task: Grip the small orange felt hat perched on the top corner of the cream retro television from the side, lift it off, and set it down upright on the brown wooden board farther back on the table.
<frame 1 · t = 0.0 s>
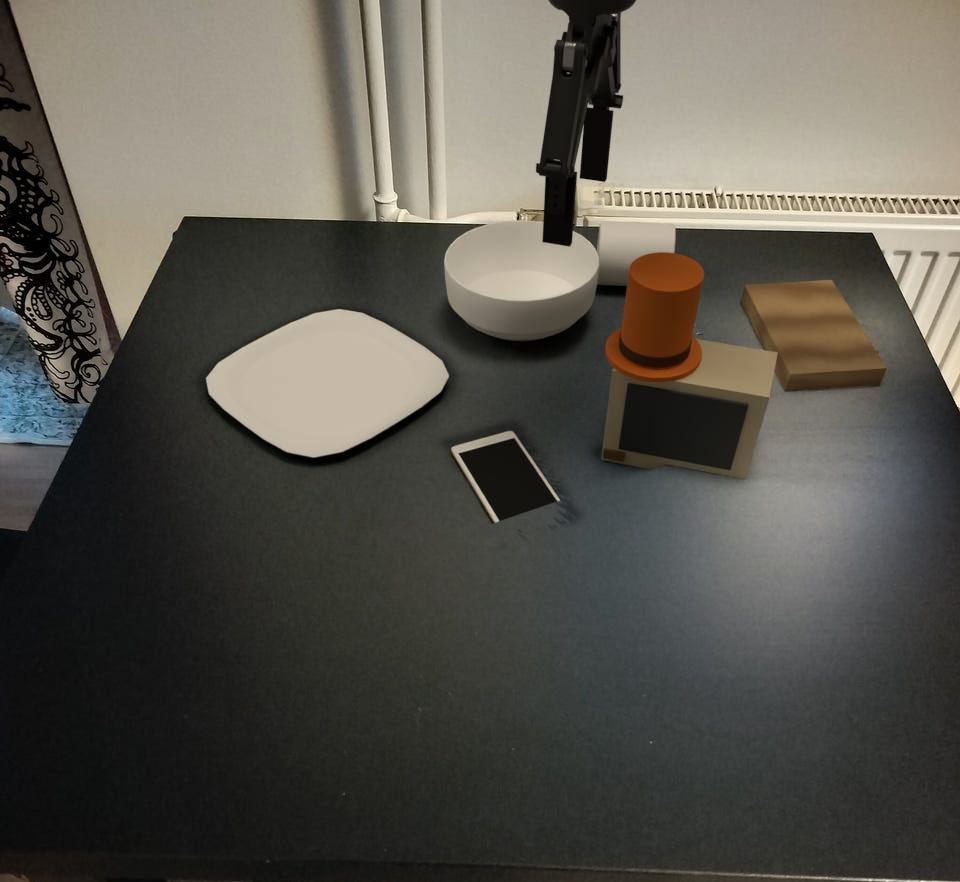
hand: (575, 209, 88), 24 cm above the table, tool pointing down, fingers open, 13 cm apart
brown wooden board: (806, 341, 115), on the table
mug: (630, 275, 125), on the table
plate: (329, 388, 110), on the table
television: (676, 451, 102), on the table
cell phone: (509, 487, 98), on the table
hat: (653, 353, 93), point 12 cm above the table, touching television
bowl: (519, 319, 119), on the table
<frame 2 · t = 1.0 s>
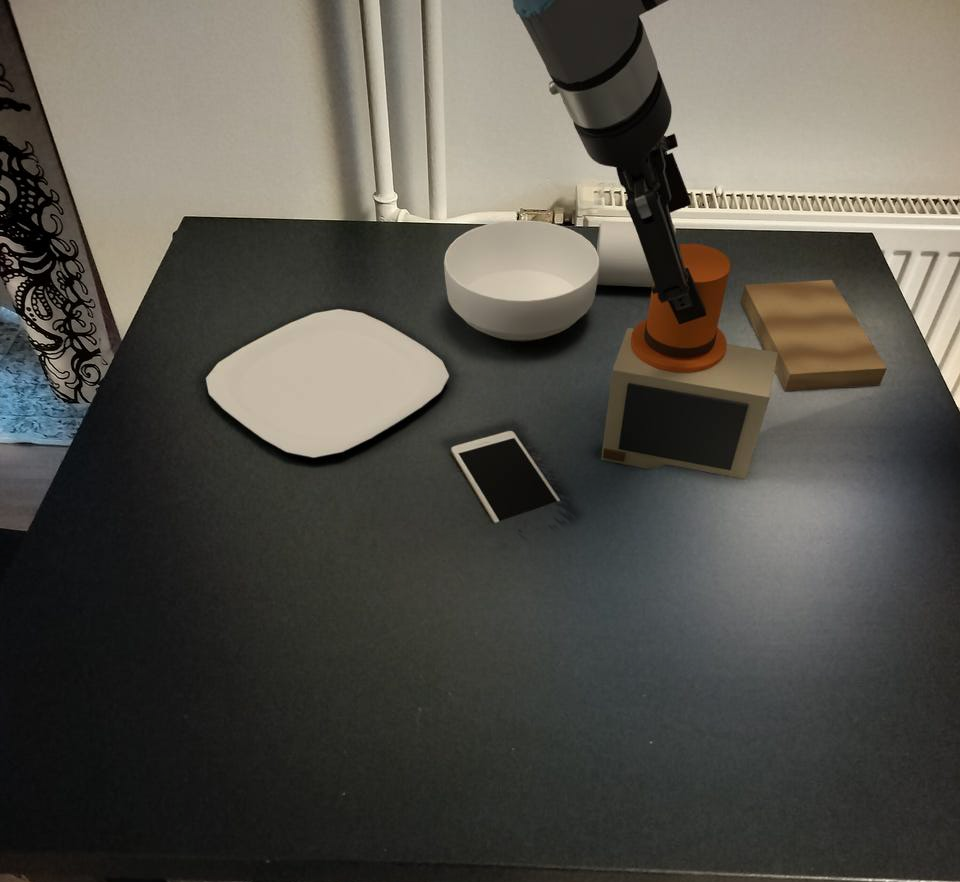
hand: (685, 260, 89), 20 cm above the table, tool tilted 35°, fingers open, 13 cm apart
hat: (678, 344, 94), point 12 cm above the table, touching television
everything else where it was.
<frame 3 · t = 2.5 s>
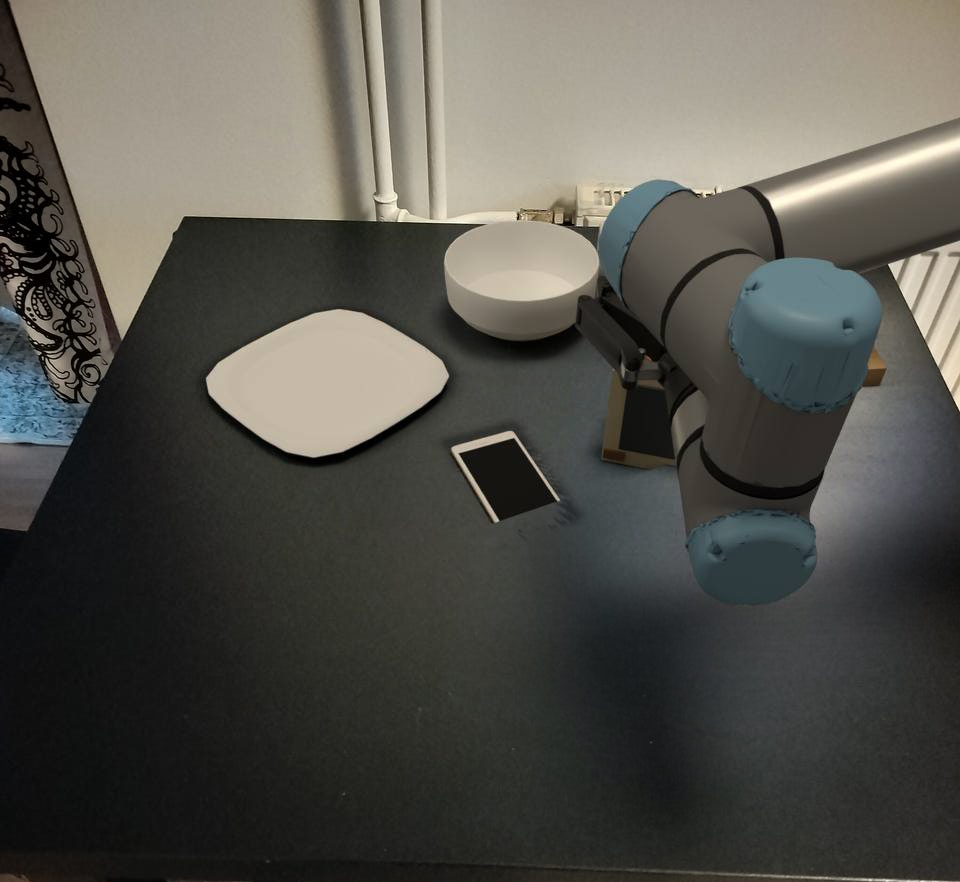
hand: (690, 265, 77), 26 cm above the table, tool horizontal, fingers open, 13 cm apart
nothing on the table moved.
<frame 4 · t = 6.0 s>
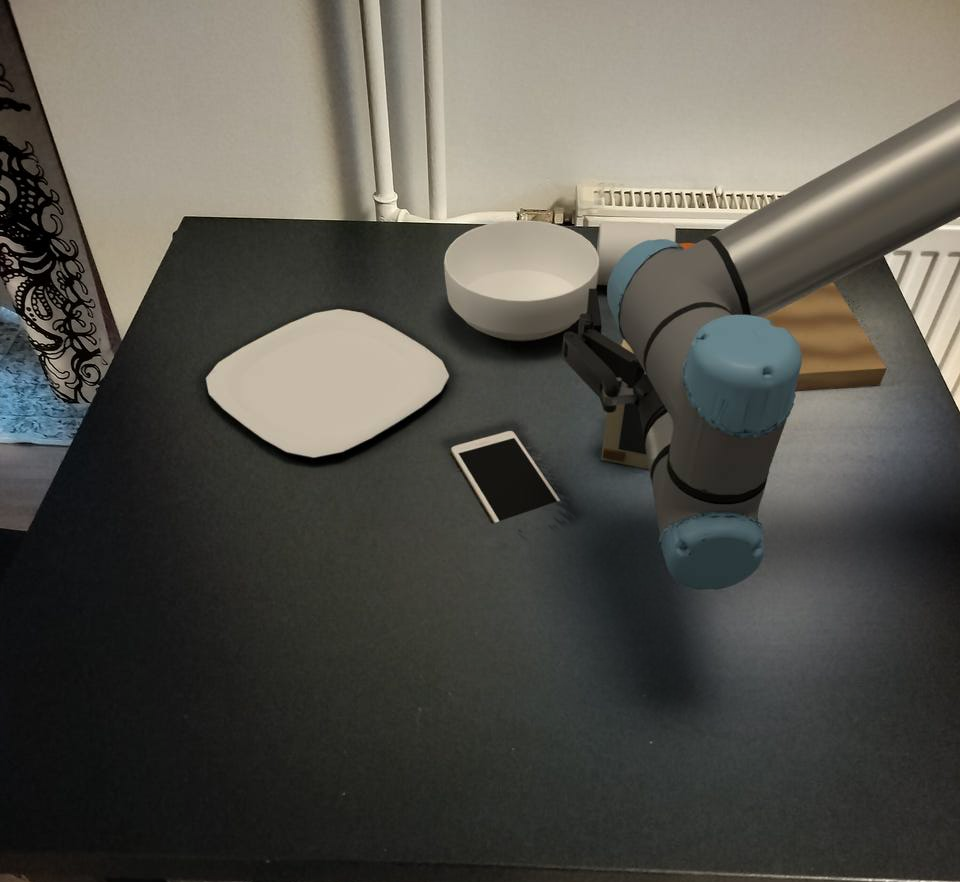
hand: (658, 300, 90), 17 cm above the table, tool horizontal, fingers open, 13 cm apart
hat: (677, 344, 94), point 12 cm above the table, touching gripper, television
everything else where it was.
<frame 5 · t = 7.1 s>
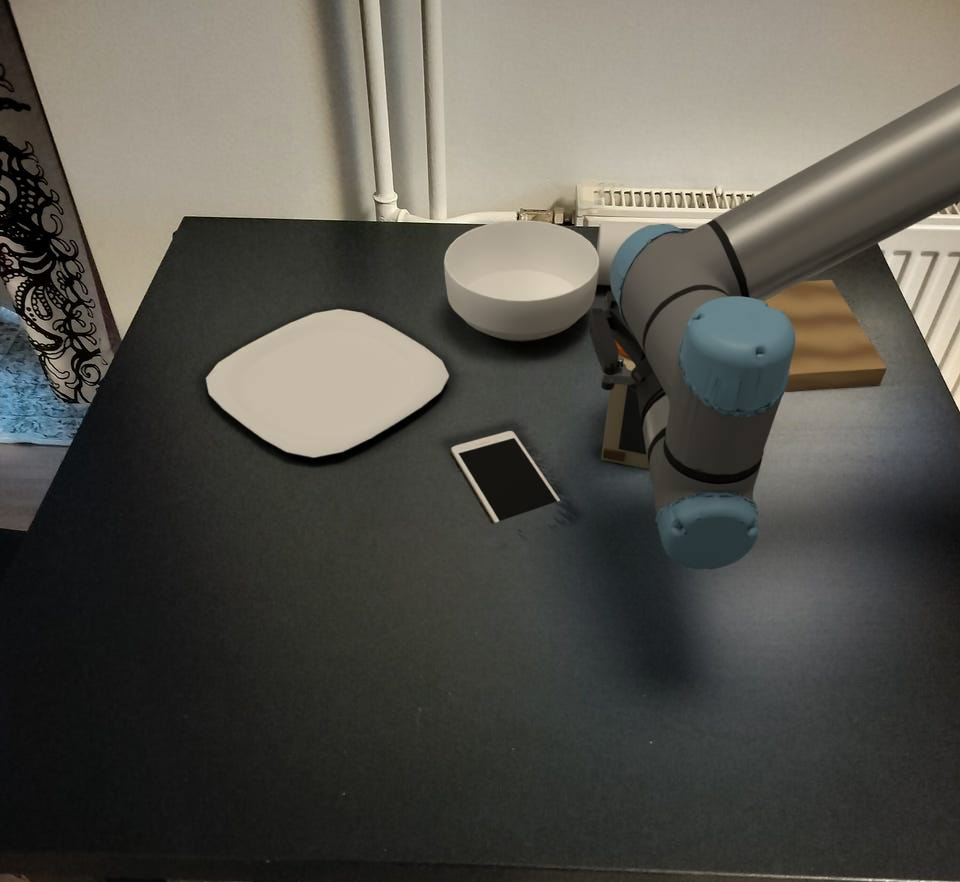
hand: (655, 279, 92), 18 cm above the table, tool horizontal, fingers closed on hat, 7 cm apart
hat: (649, 336, 95), point 12 cm above the table, touching gripper, television
everything else where it was.
when the fingers open (8 cm above the table, at t = 17.8 s): hat stays where it is, resting on brown wooden board.
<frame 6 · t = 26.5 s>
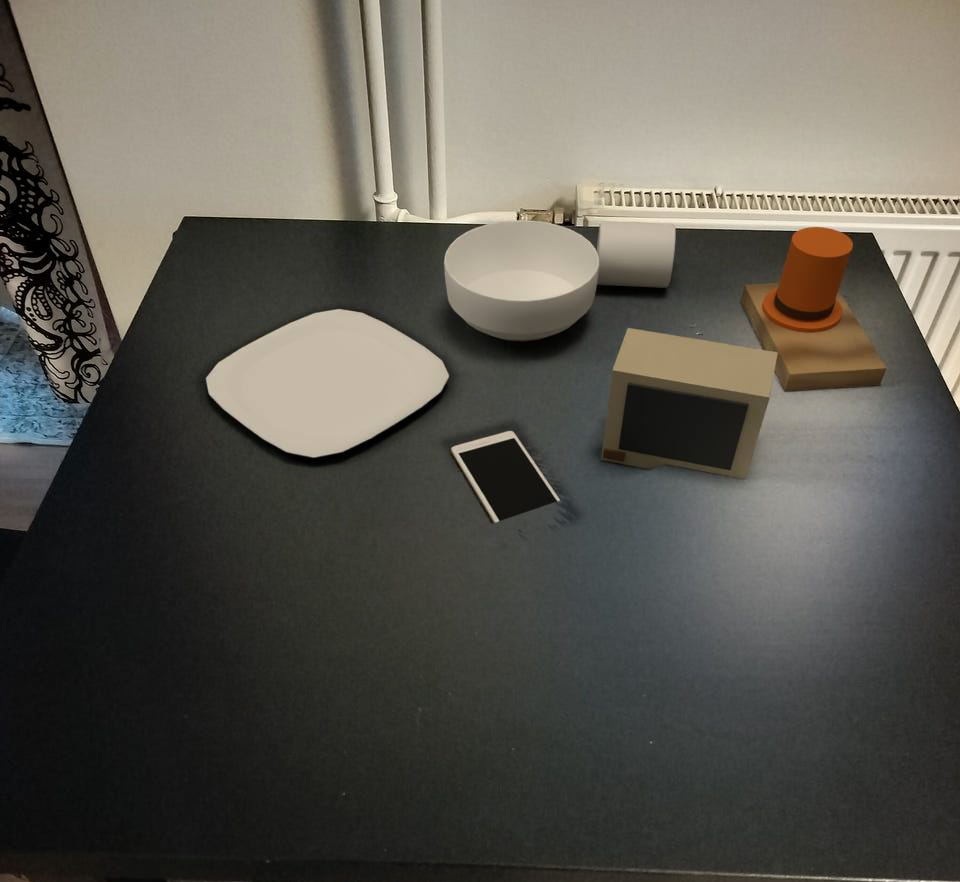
hat: (801, 310, 115), point 2 cm above the table, touching brown wooden board
everything else where it was.
at the end: hat inside the target area on the brown wooden board (3.2 cm from its centre), point 2.5 cm above the brown wooden board's base; hat tilted 0°; the gripper is holding nothing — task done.
